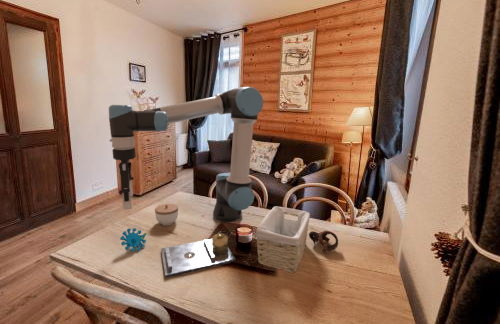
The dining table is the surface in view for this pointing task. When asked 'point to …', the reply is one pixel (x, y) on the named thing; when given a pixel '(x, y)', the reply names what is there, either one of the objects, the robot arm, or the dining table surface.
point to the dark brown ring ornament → (321, 237)
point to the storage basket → (282, 238)
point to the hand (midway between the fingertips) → (128, 202)
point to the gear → (133, 239)
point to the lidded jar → (166, 213)
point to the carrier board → (196, 256)
